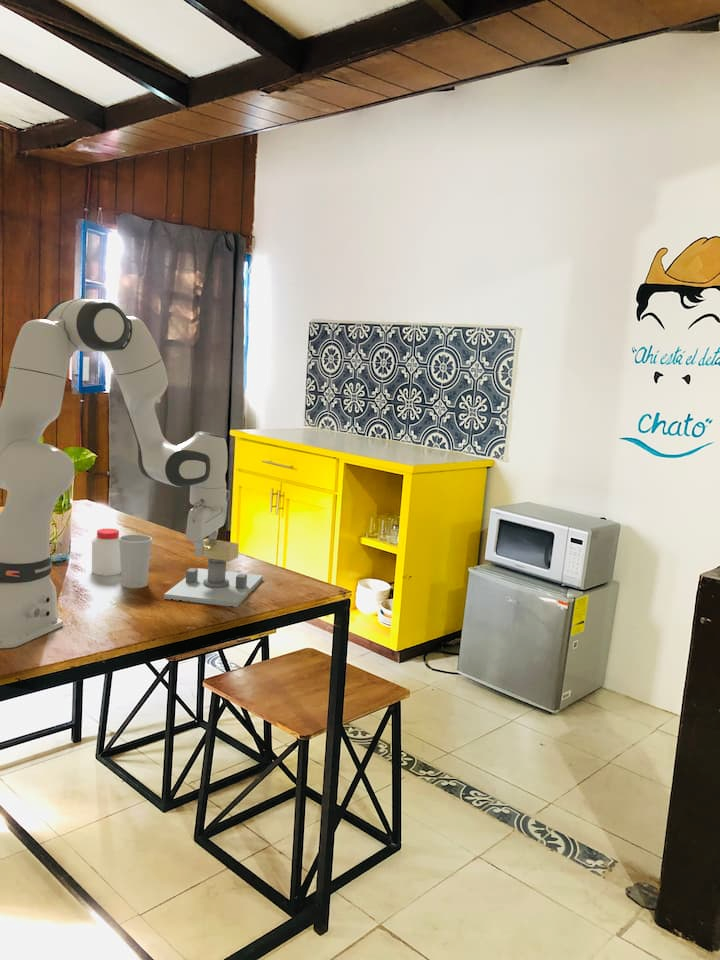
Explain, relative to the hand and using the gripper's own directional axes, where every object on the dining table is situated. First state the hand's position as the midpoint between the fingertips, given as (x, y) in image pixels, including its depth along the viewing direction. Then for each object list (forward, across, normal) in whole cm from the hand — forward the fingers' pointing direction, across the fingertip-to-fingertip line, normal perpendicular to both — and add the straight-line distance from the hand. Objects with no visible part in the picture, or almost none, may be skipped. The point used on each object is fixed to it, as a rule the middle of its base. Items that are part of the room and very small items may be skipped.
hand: (205, 550), depth 199 cm
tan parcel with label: (+2, 0, -3) cm, 4 cm away
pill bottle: (+10, +4, +28) cm, 30 cm away
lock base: (+10, 0, -3) cm, 10 cm away
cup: (+10, -4, +17) cm, 20 cm away
